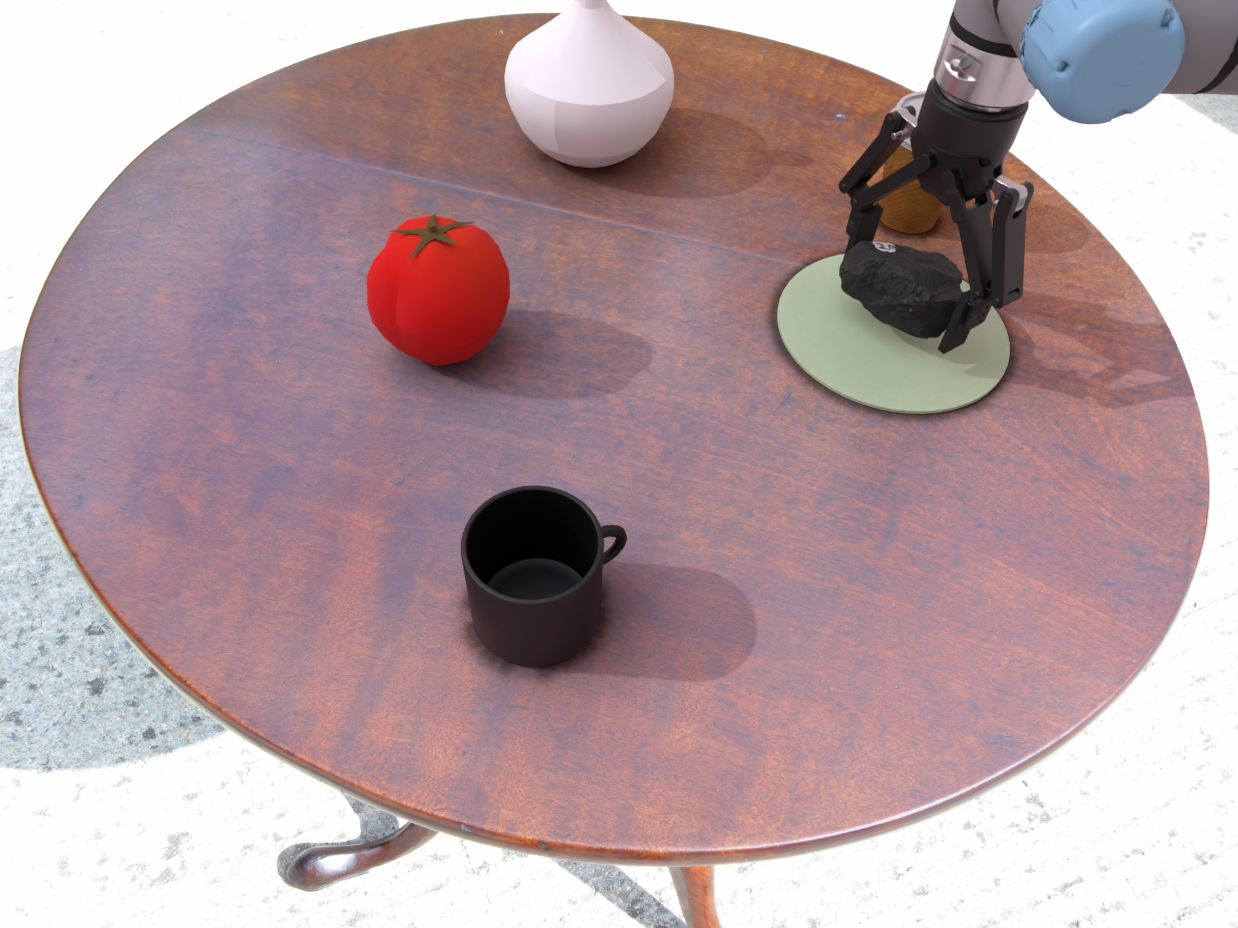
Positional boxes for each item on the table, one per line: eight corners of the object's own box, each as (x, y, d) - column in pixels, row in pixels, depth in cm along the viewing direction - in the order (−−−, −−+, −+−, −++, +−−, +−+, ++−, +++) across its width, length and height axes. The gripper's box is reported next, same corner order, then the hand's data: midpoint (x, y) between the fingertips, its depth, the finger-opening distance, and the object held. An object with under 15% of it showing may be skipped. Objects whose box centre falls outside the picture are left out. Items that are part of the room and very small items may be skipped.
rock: (832, 273, 88) (847, 223, 84) (937, 279, 89) (958, 229, 84) (844, 339, 83) (860, 289, 78) (956, 345, 83) (979, 296, 78)
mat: (1057, 354, 87) (1059, 351, 86) (890, 450, 78) (892, 447, 78) (892, 230, 98) (893, 227, 97) (730, 302, 89) (731, 299, 89)
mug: (654, 620, 67) (664, 552, 60) (503, 690, 63) (495, 627, 56) (594, 525, 72) (597, 453, 65) (451, 585, 68) (438, 515, 61)
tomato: (367, 319, 86) (339, 200, 75) (494, 292, 89) (484, 173, 79) (394, 407, 79) (368, 289, 69) (531, 374, 82) (525, 256, 72)
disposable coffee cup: (944, 194, 102) (982, 93, 93) (955, 248, 96) (997, 145, 87) (858, 186, 102) (887, 84, 93) (864, 239, 96) (896, 136, 87)
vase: (654, 98, 112) (667, -71, 97) (681, 187, 101) (700, 12, 86) (503, 103, 110) (493, -69, 95) (513, 195, 99) (503, 16, 84)
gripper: (833, 30, 73) (784, 247, 90) (1080, 186, 61) (970, 403, 78) (900, 9, 76) (840, 223, 93) (1148, 153, 64) (1028, 369, 81)
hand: (899, 305), depth 86 cm, fingers closed on rock, 12 cm apart
